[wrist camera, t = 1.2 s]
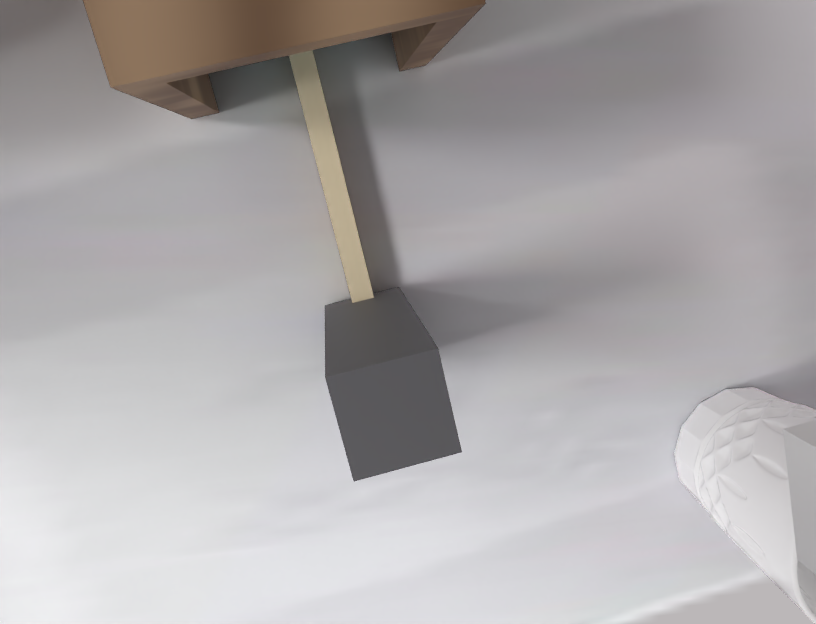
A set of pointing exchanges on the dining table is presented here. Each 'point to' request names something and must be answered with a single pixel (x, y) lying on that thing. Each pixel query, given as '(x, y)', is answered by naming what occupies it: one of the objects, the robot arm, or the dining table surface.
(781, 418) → the white cup
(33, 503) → the dining table surface
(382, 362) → the double-ended block stick
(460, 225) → the dining table surface
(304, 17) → the shelf
